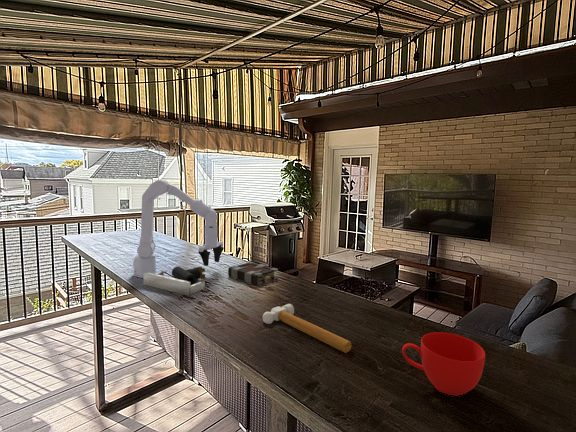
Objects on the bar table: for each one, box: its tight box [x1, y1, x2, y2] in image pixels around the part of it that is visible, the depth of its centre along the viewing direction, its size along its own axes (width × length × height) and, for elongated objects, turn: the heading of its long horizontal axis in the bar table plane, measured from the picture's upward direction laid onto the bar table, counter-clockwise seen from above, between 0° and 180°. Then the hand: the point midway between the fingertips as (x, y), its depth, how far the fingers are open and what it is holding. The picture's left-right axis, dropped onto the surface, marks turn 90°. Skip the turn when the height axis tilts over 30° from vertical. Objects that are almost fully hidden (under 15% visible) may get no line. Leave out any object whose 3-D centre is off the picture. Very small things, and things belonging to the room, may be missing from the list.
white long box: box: [143, 270, 206, 297], centre depth 139 cm, size 25×10×5 cm, turn 61°
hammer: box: [262, 303, 352, 354], centre depth 101 cm, size 12×4×30 cm
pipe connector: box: [171, 266, 206, 286], centre depth 148 cm, size 12×5×15 cm
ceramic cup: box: [401, 331, 486, 397], centre depth 76 cm, size 13×17×10 cm
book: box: [227, 261, 279, 286], centre depth 150 cm, size 15×25×5 cm, turn 49°
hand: (211, 263), depth 159 cm, fingers open, 7 cm apart
